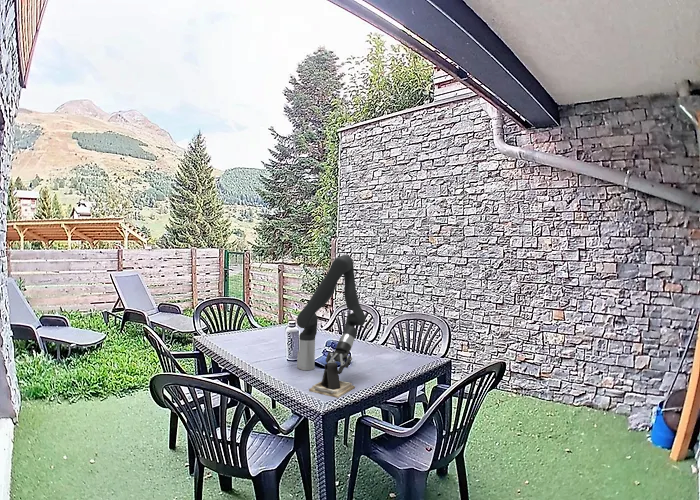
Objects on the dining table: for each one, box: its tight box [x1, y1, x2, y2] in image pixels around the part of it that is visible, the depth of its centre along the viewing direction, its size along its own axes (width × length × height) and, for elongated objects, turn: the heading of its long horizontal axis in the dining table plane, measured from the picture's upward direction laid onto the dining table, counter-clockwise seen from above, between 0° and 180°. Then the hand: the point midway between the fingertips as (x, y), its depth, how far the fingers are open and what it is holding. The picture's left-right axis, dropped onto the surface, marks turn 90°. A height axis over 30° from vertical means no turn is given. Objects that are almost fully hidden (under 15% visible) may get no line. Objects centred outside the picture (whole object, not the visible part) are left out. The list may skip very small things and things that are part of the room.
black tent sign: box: [321, 362, 340, 390], centre depth 231 cm, size 9×6×12 cm, turn 35°
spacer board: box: [308, 380, 356, 399], centre depth 230 cm, size 17×17×2 cm
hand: (332, 372), depth 230 cm, fingers open, 6 cm apart
